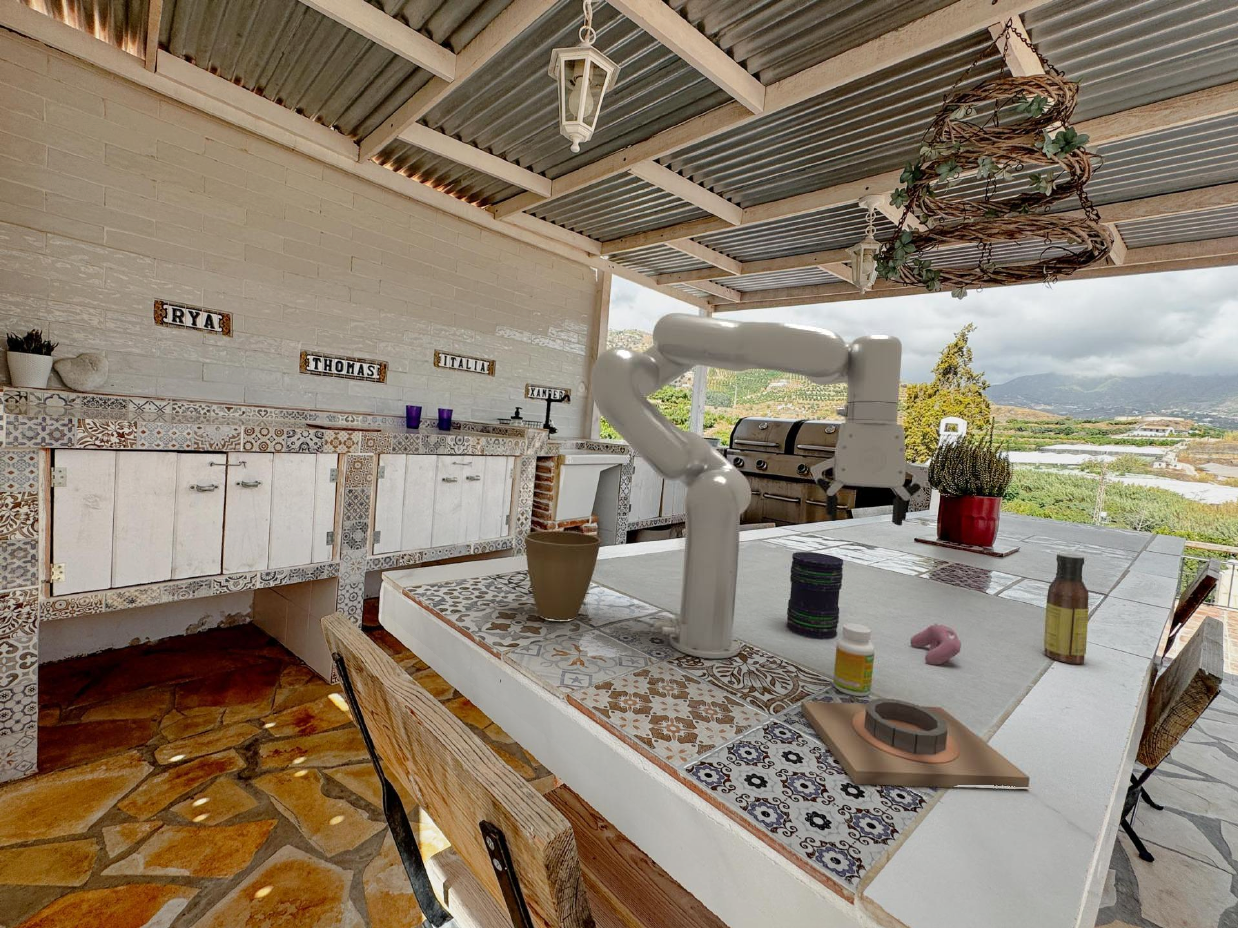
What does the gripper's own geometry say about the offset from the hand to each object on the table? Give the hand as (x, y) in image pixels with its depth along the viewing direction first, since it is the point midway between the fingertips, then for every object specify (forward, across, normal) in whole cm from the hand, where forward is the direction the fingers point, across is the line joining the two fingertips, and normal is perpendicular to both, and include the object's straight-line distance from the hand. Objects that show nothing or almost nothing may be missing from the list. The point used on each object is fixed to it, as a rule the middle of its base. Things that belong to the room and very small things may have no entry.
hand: (864, 522), depth 89 cm
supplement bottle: (+26, -1, -5) cm, 26 cm away
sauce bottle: (+26, +41, +25) cm, 55 cm away
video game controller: (+26, +17, +16) cm, 35 cm away
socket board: (+26, +2, -20) cm, 33 cm away
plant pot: (+24, -54, +9) cm, 60 cm away
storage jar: (+26, -4, +21) cm, 34 cm away
